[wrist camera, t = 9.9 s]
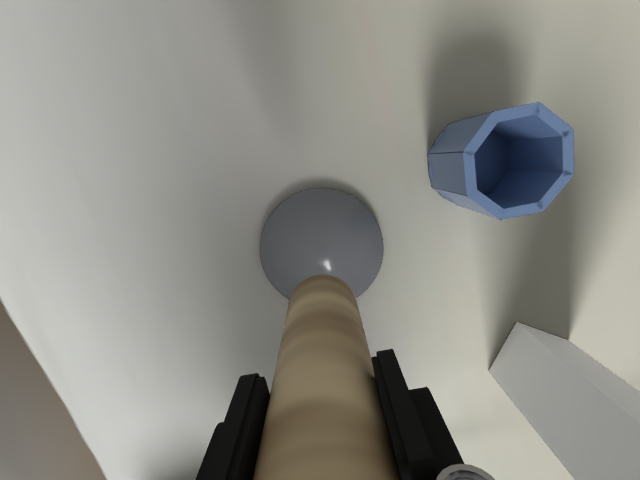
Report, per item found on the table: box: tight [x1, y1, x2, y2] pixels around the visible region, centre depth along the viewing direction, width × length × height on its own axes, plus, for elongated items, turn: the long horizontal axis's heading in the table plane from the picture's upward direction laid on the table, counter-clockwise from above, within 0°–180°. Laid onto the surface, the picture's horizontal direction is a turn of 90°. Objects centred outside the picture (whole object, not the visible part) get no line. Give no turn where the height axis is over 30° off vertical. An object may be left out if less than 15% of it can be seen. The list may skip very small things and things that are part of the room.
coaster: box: [260, 188, 383, 299], centre depth 29 cm, size 11×11×1 cm
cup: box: [427, 102, 574, 220], centre depth 24 cm, size 7×7×7 cm
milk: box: [489, 322, 640, 480], centre depth 22 cm, size 6×6×22 cm
